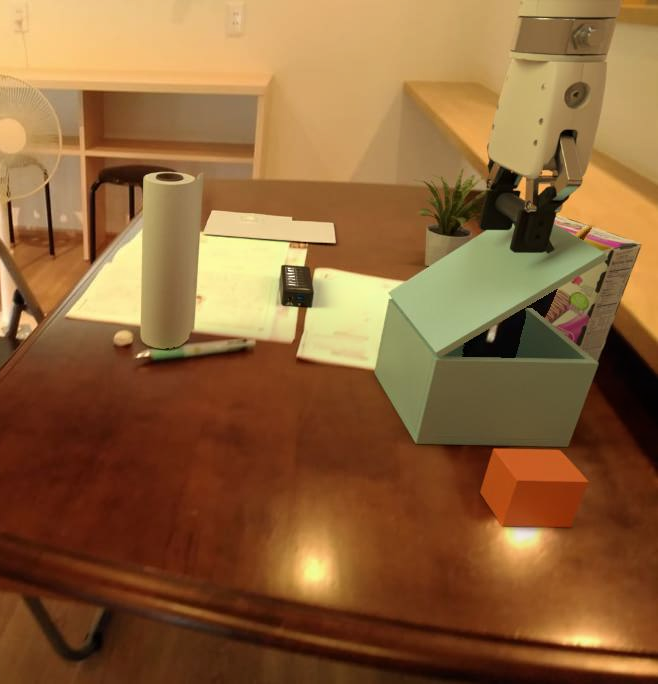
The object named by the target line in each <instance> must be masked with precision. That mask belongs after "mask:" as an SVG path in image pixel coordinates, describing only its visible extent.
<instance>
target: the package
mask: <svg viewBox="0 0 658 684" xmlns="http://www.w3.org/2000/svg"><path fill="white" fill-rule="evenodd" d="M588 484H589V480H588V479H587V477H585V475H584V474H583V473H582V472H581V471H580V470H579V469H578V468H577V466H575V464H574V463H573V462H572V461H571V460H570V459H569V458H568V457H567V456H566V455H565V454H564V452H563V451H562V450H561V449H544V448H543V449H538V448H537V449H535V448H495V447H494V448H493V449H492V452H491V455H490V458H489V462H488V464H487V468H486V471H485V474H484V478H483V482H482V484H481V488H480V491H479V494H480V495H481V496H482V499H483V500H484V501H485V502H486V504H487V506H488V507H489V509H490V511H491V512H492V513H493V515H494V516H495V518H496V519H497V521H498V522H499V524H500V525H501V527H536V528H537V527H538V528H571V527H572V525H573V522H574V520H575V518H576V516H577V512H578V510H579V507H580V505H581V502H582V500H583V498H584V495H585V492H586V489H587V487H588V486H589V485H588Z"/></svg>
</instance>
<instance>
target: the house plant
mask: <svg viewBox="0 0 658 684" xmlns="http://www.w3.org/2000/svg"><path fill="white" fill-rule="evenodd" d="M463 174H464V168H462V169H461V170H460V172H459V174H458V176H457V179H456V182H455V186H454V189H453V192H452V197H451V190H450V186H449V184H448V182H447V180H445V178H444V177H443V176H437V175H434V174H433V177H436V178H438V179H440V180H441V181H442V190H443V195H444V205H443V200H442V196H441V193H440V191H439V190H438V188H437V186H436V184H435V182H434V181H433V180H432V179H430V178H428V177H427V179H428V180H429V181H430V182H431V183H432V185H433V186H432V185H431V184H430V183H428V182H426V181H425V180H420V183H424V184H425V185H426V186H427V187H428V189H429V191H430V192H431V194H432V195H433V196H434V198H426V199H425V200H426V201H427V202H428V204H430V205H431V206H432V207H433V208H434V209H435V211H436V212H437V214H436V213H435V212H432V211H431V210H430V209H428V208H427V207H426V208H425V207H422V208H420V209H419V210H418V212H417V213H416V214H419V213H420V215H418V216H417V218H419V217H432V218H434V220H435V221H436V222H437V223H435V224H429V225H428V226H427V227H426V230H425V231H426V232H425V252H424V253H425V254H424V255H425V256H424V265H425V266H426V265H427V266H431V265H432V264H434V263H435V262H437V261H439V260H440V259H442V258H443V257H445V256H447V255H448V254H450V253H451V252H453V251H454V250H456V249H458V248H459V247H461V246H462V245H464V244H466V243H467V242H469V241H470V240H471V239H472V236H473V232H472V231H471V230H469V229H468V228H465V227H466V225H465V224H466V223H467V222H469V224H471V222H472V221H480V217H481V212H479V213H477V212H478V211H482V208H483V204H484V203H477V202H478V200H480V199H485V195H486V190H491V189H487V188H486V189H485V190H483V191H482V192H480V193H479V194H477V195H476V196H473V197H472V198H470V199H469V200H468V201H467V202H465V200H466V198H467V197H468V194H469V193H470V192H471V191H472V190H473V189H474V187H475V186H476V185H477V184H479V183H480V182H481V181H483V180H484V179H485V178H486V177H488V174H487V175H484V176H482V177H481V178H479V179H477V180H476V181H474V179H475V174H473V175H471V176H469V177H467V178H466V179H465V181H464V182H463V183H462V177H463ZM414 181H416V182H419V179H414ZM473 181H474V182H473ZM475 203H477V204H475ZM432 214H433V215H432ZM476 216H479V217H476ZM469 224H468V225H469ZM427 266H426V267H427Z"/></svg>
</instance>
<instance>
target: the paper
mask: <svg viewBox="0 0 658 684" xmlns="http://www.w3.org/2000/svg"><path fill="white" fill-rule="evenodd" d="M205 224H206V225H205V227H204V229H203V232H202V234H203V235H213V236H227V237H238V238H239V237H241V238H251V239H264V240H277V241H291V242H303V243H304V242H306V243H323V244H325V243H327V244H336V242H337V241H336V231H335V224H334V222H325V221H311V220H310V221H309V220H307V221H306V220H293V216H281V215H271V214H262V213H253V212H250V213H249V212H234V211H228V210H227V211H225V210H214V209H212V210H211V212H210V214H209V217H208V219H207V221H206V223H205Z"/></svg>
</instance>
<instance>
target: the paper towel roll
mask: <svg viewBox="0 0 658 684" xmlns="http://www.w3.org/2000/svg"><path fill="white" fill-rule="evenodd" d="M204 174H205V173H204V172H201V173H199V174H198V175H197V178H196V177H194V176H193V175H190V174H188V173H184V172H183V173H182V172H175V171H174V172H173V171H158V172H151V173H148V174H145V175H144V176H143V182H142V227H141V229H142V231H141V232H142V233H141V234H142V236H141V238H142V239H141V277H140V279H141V281H140V282H141V283H140V286H141V287H140V329H139V330H140V335H139V337H140V339H141V342H142V343H143V344H144V345H146V346H148V347H151V348H154V349H160V350H161V349H162V350H167V349H166V348H169V349H174V348H173V347H175V348H179V347H181V346H182V345H184V344H185V343H187V341H189V340H190V335H191V332H192V331H193V330H195V326H196V325H195V324H196V309H197V308H196V307H197V291H198V289H197V288H198V274H199V256H200V255H199V254H200V242H201V241H200V240H201V226H202V225H201V223H202V222H201V221H202V208H203V207H202V206H203V190H204V188H203V187H204Z"/></svg>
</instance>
